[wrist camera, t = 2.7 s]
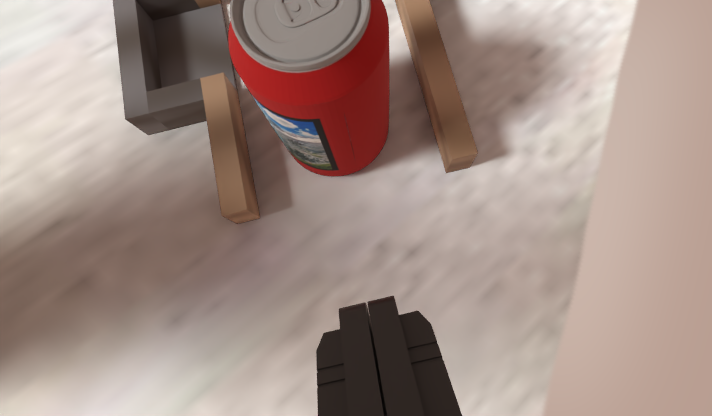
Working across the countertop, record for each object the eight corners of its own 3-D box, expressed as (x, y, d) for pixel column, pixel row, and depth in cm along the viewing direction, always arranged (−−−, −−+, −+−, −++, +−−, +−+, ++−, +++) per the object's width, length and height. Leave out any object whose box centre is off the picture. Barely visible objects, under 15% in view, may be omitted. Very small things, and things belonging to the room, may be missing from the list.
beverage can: (270, 109, 28) (187, -29, 16) (362, 68, 28) (344, -98, 17) (310, 198, 26) (248, 114, 15) (407, 153, 27) (421, 36, 15)
